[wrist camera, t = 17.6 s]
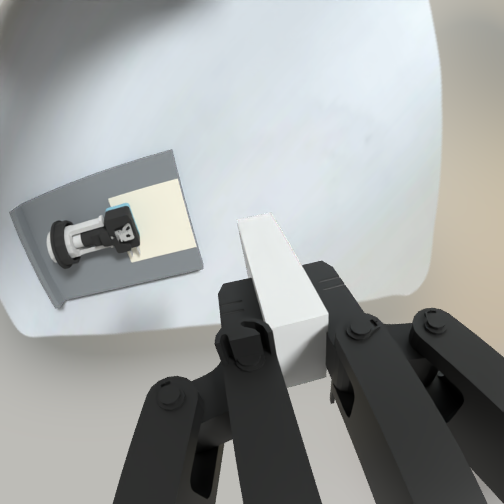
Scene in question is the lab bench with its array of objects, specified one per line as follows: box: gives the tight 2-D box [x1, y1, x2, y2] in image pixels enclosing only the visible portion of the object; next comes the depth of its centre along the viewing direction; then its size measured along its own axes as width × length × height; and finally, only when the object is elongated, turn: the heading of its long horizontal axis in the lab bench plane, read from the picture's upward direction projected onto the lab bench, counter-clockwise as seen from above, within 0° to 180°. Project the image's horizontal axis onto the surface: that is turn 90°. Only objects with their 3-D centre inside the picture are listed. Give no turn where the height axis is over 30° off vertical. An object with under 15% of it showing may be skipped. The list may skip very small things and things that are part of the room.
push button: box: [47, 203, 140, 269], centre depth 28 cm, size 7×5×10 cm
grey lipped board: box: [9, 150, 203, 309], centre depth 30 cm, size 14×21×3 cm, turn 100°
